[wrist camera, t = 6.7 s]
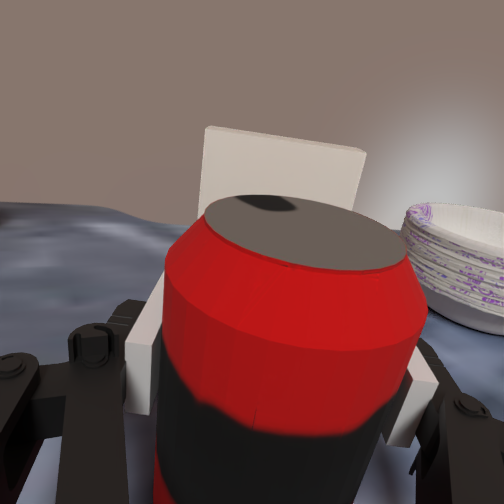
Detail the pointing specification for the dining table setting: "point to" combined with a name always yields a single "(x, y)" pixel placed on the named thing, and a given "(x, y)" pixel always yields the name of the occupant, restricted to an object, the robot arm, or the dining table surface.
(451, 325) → the dining table surface
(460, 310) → the paper bowls
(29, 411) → the robot arm
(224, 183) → the block
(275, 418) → the soda can
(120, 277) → the dining table surface
